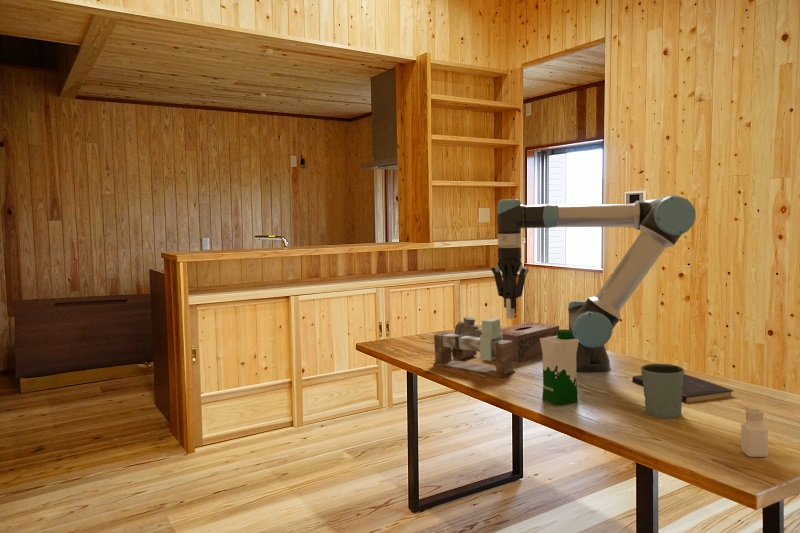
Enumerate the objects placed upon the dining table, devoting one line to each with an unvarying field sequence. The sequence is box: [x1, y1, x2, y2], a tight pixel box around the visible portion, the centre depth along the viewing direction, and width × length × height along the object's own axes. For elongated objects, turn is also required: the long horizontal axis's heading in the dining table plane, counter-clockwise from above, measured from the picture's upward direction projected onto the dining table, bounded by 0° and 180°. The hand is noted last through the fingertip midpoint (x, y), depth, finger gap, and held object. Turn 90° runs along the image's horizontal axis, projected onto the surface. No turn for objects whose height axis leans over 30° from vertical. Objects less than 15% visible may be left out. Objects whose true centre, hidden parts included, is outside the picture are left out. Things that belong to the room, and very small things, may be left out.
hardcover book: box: [631, 373, 734, 404], centre depth 174 cm, size 16×23×2 cm
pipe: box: [451, 348, 478, 361], centre depth 226 cm, size 6×17×10 cm
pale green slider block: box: [479, 318, 503, 362], centre depth 199 cm, size 4×8×13 cm, turn 138°
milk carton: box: [540, 329, 579, 407], centre depth 166 cm, size 9×9×20 cm
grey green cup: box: [640, 363, 685, 419], centre depth 153 cm, size 10×10×12 cm
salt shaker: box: [740, 408, 769, 458], centre depth 125 cm, size 4×4×10 cm
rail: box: [433, 331, 516, 378], centre depth 205 cm, size 29×8×11 cm, turn 48°
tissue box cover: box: [500, 321, 560, 363], centre depth 225 cm, size 26×14×10 cm, turn 130°
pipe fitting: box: [454, 316, 482, 337], centre depth 252 cm, size 12×8×10 cm
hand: (510, 318), depth 193 cm, fingers closed
